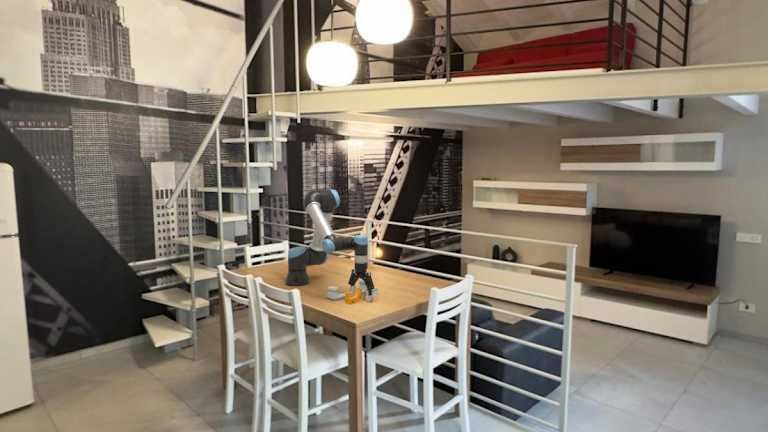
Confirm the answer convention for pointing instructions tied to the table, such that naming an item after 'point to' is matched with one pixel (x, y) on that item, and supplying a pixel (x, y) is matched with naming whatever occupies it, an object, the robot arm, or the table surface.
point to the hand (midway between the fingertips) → (361, 299)
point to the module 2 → (362, 285)
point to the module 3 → (373, 292)
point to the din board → (343, 296)
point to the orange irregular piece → (355, 298)
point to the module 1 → (332, 292)
